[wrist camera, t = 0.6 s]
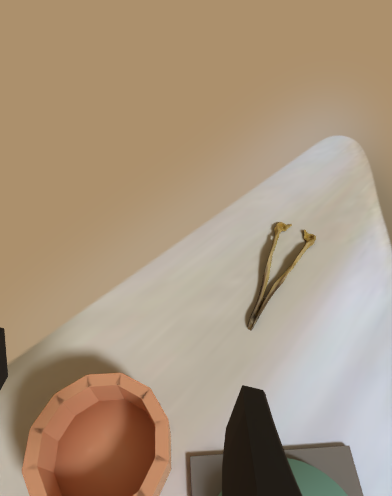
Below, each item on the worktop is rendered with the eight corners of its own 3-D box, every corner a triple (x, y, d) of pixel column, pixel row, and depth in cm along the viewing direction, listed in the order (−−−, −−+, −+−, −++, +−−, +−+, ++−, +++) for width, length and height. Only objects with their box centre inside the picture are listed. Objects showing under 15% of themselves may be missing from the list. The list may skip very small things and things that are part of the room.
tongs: (234, 328, 31) (237, 317, 30) (275, 228, 39) (279, 214, 38) (281, 347, 31) (287, 337, 29) (313, 241, 38) (319, 228, 37)
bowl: (172, 526, 23) (170, 527, 19) (33, 537, 22) (8, 539, 19) (169, 387, 28) (167, 369, 25) (57, 394, 27) (39, 377, 24)
